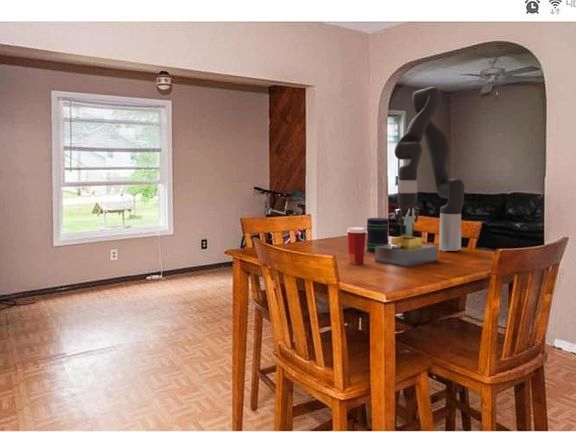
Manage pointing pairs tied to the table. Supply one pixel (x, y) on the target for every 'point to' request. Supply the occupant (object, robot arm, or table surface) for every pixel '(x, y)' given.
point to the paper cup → (356, 245)
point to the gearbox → (406, 252)
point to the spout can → (408, 226)
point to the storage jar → (377, 233)
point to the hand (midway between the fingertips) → (406, 233)
